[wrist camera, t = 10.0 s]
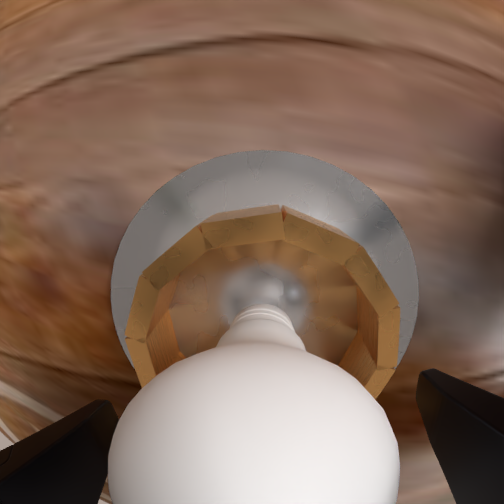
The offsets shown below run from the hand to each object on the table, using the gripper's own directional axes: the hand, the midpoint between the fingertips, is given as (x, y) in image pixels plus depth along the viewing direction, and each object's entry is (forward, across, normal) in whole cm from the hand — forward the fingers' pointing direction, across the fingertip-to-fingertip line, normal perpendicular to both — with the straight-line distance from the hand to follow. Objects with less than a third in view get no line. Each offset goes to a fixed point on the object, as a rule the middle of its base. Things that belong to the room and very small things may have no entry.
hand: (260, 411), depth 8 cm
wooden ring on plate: (+7, 0, 0) cm, 7 cm away
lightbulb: (+6, 0, 0) cm, 6 cm away
